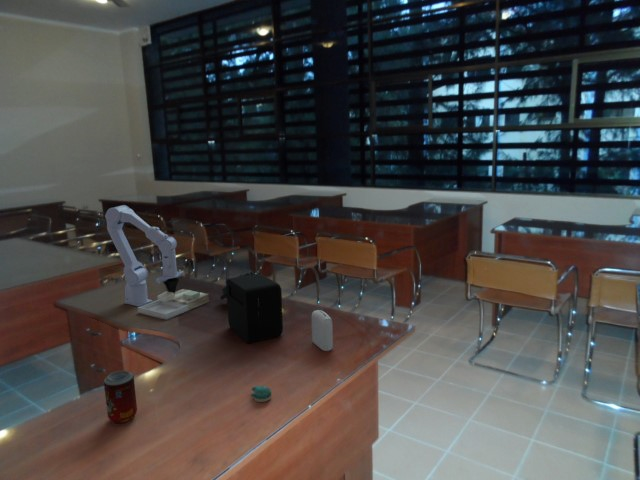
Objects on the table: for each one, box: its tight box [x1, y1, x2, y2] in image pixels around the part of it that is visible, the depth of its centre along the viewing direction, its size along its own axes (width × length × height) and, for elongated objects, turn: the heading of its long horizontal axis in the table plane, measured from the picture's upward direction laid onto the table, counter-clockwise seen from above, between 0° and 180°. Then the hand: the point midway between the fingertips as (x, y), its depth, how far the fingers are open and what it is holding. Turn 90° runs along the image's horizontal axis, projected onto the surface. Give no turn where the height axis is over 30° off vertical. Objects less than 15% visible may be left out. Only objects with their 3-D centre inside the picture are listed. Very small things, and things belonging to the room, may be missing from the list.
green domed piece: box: [250, 385, 272, 403], centre depth 130 cm, size 6×7×4 cm
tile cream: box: [157, 290, 175, 302], centre depth 204 cm, size 5×5×2 cm
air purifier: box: [225, 272, 284, 344], centre depth 174 cm, size 20×15×20 cm
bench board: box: [169, 288, 210, 311], centre depth 208 cm, size 16×13×4 cm
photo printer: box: [311, 309, 334, 352], centre depth 161 cm, size 10×4×12 cm, turn 26°
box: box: [137, 299, 190, 321], centre depth 198 cm, size 17×12×2 cm
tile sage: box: [183, 290, 200, 300], centre depth 205 cm, size 5×5×2 cm
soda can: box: [103, 370, 138, 426], centre depth 120 cm, size 7×7×12 cm
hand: (172, 294), depth 207 cm, fingers closed
